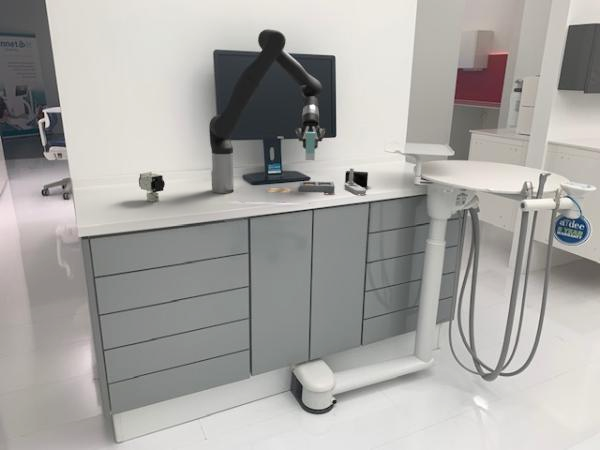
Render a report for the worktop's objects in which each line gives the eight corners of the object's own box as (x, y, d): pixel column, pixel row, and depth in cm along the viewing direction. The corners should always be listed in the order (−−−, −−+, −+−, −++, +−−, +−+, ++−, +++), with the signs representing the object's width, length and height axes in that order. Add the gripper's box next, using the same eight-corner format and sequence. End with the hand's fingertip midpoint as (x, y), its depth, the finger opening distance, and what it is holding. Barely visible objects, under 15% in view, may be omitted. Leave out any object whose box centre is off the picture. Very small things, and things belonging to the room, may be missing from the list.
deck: (267, 194, 211) (267, 192, 211) (268, 190, 219) (268, 188, 218) (289, 194, 211) (289, 192, 211) (290, 190, 218) (290, 188, 218)
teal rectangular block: (305, 160, 212) (306, 132, 209) (305, 158, 216) (306, 131, 213) (314, 160, 212) (315, 133, 209) (314, 158, 216) (315, 131, 212)
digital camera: (344, 187, 228) (345, 172, 226) (345, 184, 233) (346, 170, 231) (366, 188, 226) (367, 174, 224) (367, 186, 231) (368, 171, 229)
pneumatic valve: (149, 197, 201) (147, 169, 198) (166, 202, 194) (164, 173, 191) (138, 199, 197) (135, 171, 194) (154, 204, 190) (152, 175, 187)
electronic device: (358, 175, 209) (344, 167, 223) (356, 196, 213) (342, 188, 226) (369, 174, 211) (354, 167, 224) (367, 195, 214) (352, 187, 228)
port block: (299, 193, 214) (299, 184, 213) (299, 188, 223) (300, 180, 222) (334, 193, 214) (334, 185, 213) (333, 189, 223) (333, 181, 222)
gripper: (295, 111, 215) (294, 142, 207) (326, 112, 215) (326, 142, 207) (295, 122, 222) (294, 152, 214) (325, 122, 222) (325, 153, 214)
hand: (310, 147), depth 211 cm, fingers closed on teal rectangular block, 4 cm apart
